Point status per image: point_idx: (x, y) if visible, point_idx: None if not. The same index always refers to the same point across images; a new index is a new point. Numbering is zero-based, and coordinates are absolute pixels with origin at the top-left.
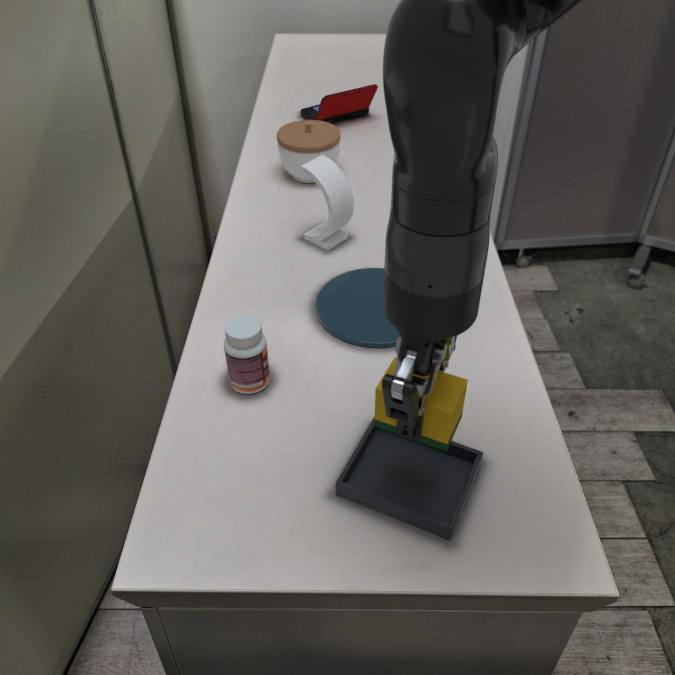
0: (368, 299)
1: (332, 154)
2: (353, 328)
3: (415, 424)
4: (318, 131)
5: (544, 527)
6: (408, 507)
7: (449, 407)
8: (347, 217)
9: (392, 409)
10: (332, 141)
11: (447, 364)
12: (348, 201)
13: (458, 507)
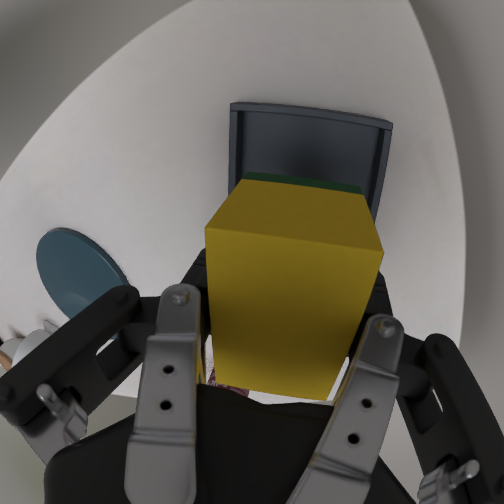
0: (81, 298)
1: (8, 350)
2: None
3: (440, 334)
4: (5, 365)
5: (314, 3)
6: (356, 184)
7: (358, 264)
8: (33, 337)
9: (428, 402)
10: (2, 357)
11: (182, 298)
12: (24, 348)
13: (353, 119)
